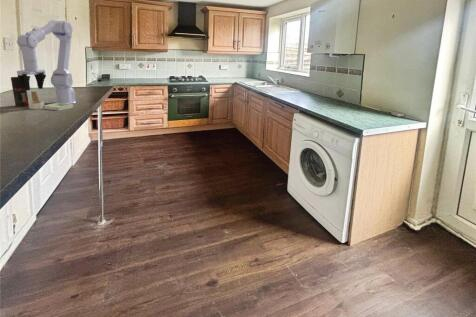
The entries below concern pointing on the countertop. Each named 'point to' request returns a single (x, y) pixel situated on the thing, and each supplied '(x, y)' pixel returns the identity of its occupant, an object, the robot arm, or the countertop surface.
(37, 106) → the white octagonal bowl
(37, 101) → the dowel
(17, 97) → the deodorant
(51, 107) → the tray
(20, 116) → the countertop surface
